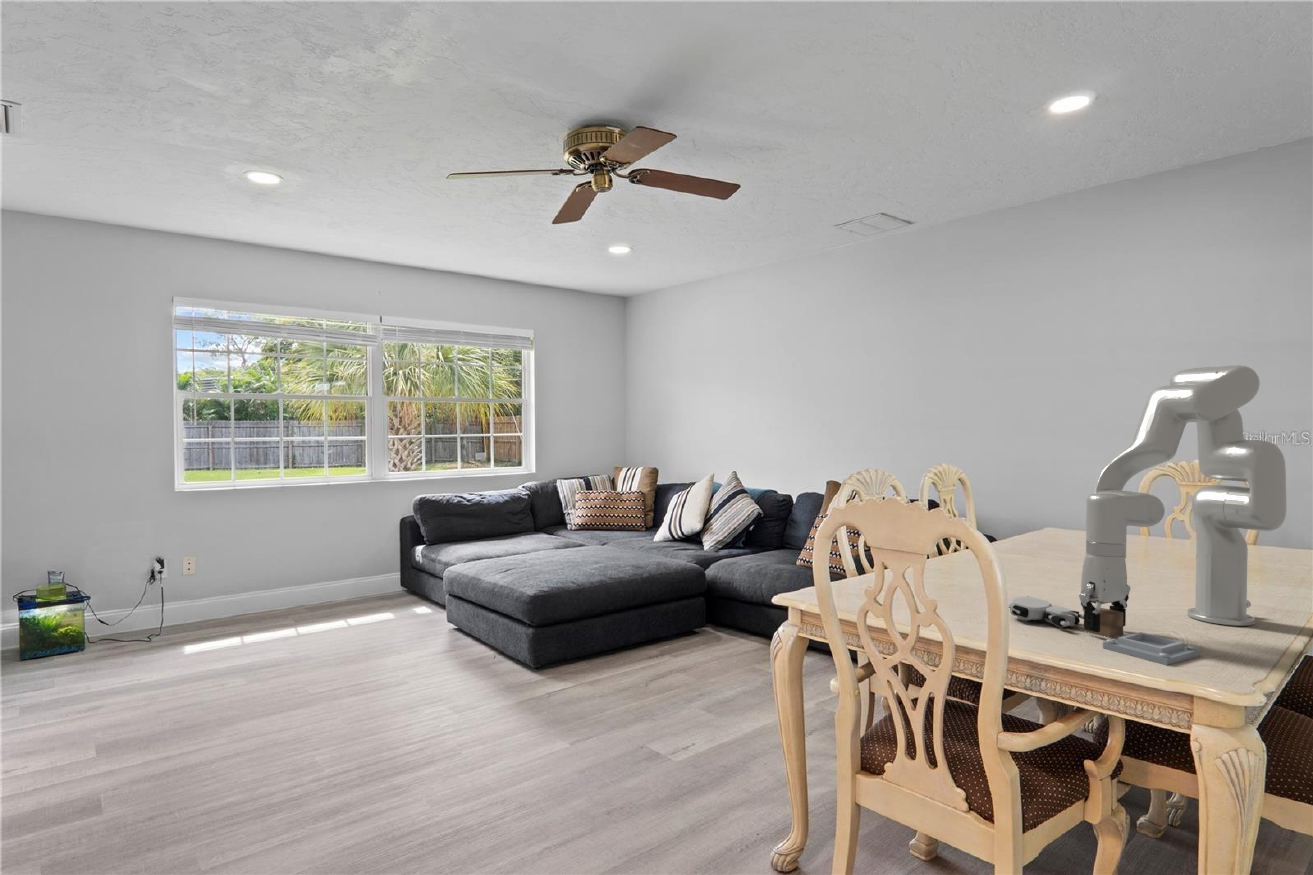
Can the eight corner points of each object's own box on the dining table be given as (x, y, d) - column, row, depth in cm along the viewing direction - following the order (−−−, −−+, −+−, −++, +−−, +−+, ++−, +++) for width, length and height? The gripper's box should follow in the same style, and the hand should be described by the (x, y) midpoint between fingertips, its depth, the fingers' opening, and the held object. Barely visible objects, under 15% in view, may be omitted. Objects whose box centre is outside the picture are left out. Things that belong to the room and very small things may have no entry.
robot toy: (1089, 628, 166) (1023, 610, 178) (1091, 609, 166) (1025, 592, 177) (1066, 638, 158) (998, 618, 170) (1068, 618, 158) (1000, 599, 170)
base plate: (1136, 639, 154) (1136, 628, 154) (1199, 655, 143) (1200, 643, 143) (1102, 647, 148) (1103, 636, 148) (1166, 665, 138) (1167, 652, 138)
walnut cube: (1099, 629, 162) (1100, 607, 162) (1123, 635, 158) (1123, 612, 158) (1086, 632, 160) (1086, 610, 160) (1109, 638, 155) (1109, 615, 155)
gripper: (1111, 544, 166) (1110, 618, 166) (1065, 550, 158) (1064, 628, 158) (1146, 549, 159) (1145, 627, 159) (1099, 555, 151) (1098, 637, 151)
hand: (1104, 627), depth 159 cm, fingers open, 9 cm apart
